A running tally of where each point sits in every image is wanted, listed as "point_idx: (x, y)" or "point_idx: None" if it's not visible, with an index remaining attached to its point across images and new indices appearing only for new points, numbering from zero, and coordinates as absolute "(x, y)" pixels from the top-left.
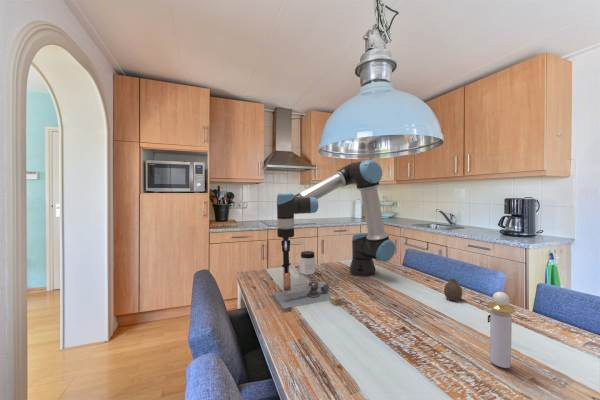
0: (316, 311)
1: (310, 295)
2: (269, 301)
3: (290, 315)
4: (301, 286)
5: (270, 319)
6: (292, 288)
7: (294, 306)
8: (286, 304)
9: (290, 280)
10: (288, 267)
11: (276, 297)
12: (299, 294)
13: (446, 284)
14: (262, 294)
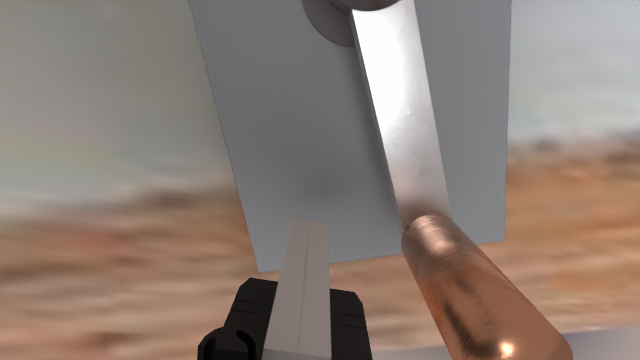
0: (567, 33)
1: None
2: (330, 281)
3: (544, 200)
4: (394, 103)
5: (540, 294)
6: (418, 195)
7: (504, 175)
8: (457, 216)
9: (482, 260)
10: (328, 351)
11: (334, 258)
12: (317, 102)
13: None
14: (223, 307)
